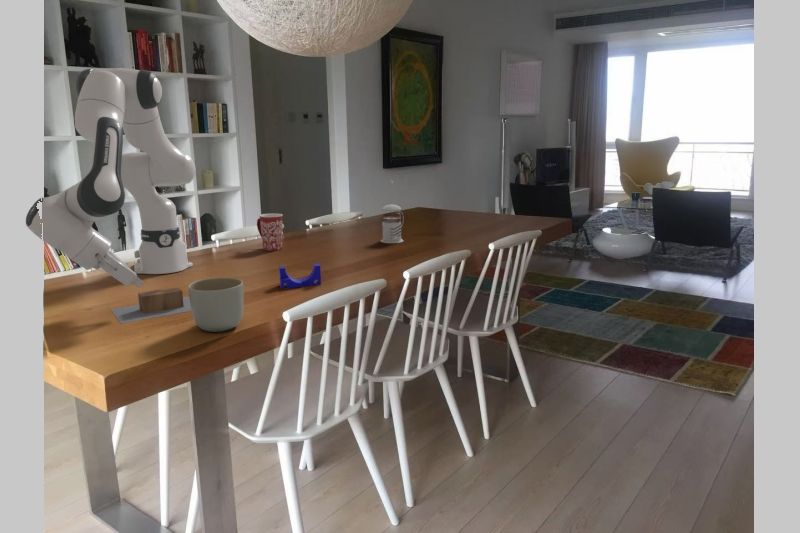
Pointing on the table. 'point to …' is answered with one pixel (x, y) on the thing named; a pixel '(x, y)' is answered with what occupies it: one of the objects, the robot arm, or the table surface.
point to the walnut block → (160, 300)
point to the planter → (216, 303)
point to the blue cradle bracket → (299, 282)
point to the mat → (136, 314)
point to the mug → (270, 231)
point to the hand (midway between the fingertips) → (140, 284)
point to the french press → (392, 224)
